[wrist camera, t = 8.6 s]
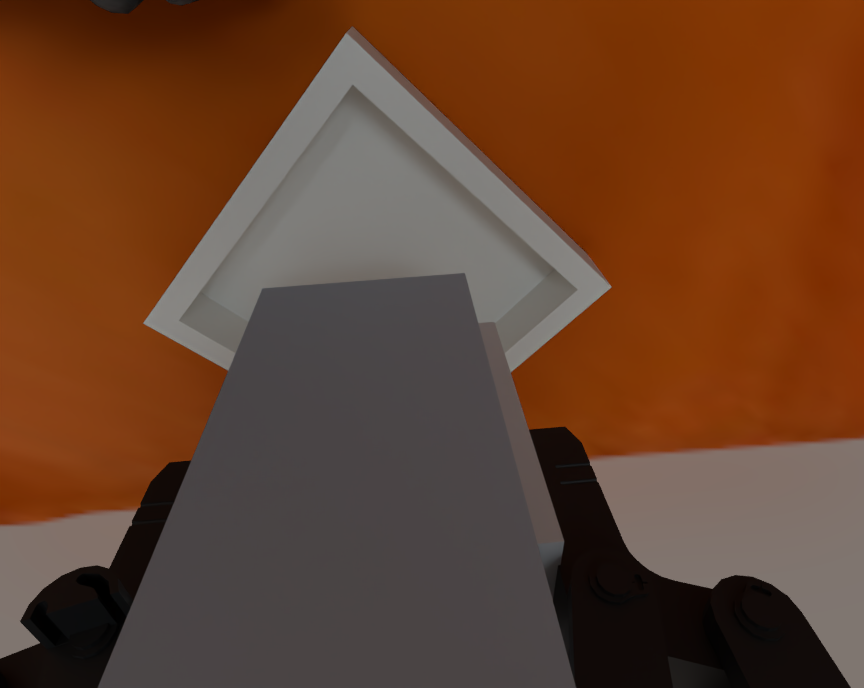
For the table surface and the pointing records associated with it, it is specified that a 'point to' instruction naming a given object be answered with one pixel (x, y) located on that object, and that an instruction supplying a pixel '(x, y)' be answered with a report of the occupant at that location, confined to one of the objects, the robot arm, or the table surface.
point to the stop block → (349, 511)
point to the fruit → (129, 4)
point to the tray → (377, 218)
